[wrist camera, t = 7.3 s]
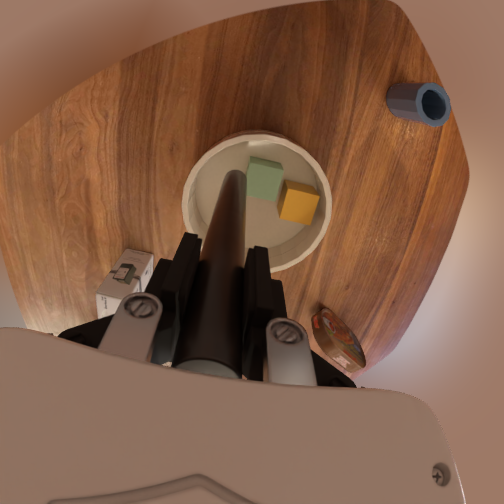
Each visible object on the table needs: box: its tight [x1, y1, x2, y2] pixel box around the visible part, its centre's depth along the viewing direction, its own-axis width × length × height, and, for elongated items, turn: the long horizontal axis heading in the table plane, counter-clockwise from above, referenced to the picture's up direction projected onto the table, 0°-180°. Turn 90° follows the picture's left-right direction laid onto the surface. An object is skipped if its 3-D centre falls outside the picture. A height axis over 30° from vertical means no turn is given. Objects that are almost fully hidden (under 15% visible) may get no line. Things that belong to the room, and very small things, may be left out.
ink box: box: [95, 249, 153, 319], centre depth 39 cm, size 9×5×12 cm, turn 167°
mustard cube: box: [277, 180, 320, 225], centre depth 36 cm, size 4×4×4 cm
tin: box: [311, 308, 366, 373], centre depth 47 cm, size 15×3×8 cm, turn 43°
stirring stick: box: [171, 170, 247, 379], centre depth 16 cm, size 2×2×20 cm
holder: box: [386, 82, 451, 127], centre depth 28 cm, size 5×5×8 cm
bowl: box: [182, 129, 332, 273], centre depth 36 cm, size 17×17×6 cm
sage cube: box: [246, 156, 284, 202], centre depth 35 cm, size 4×4×4 cm
